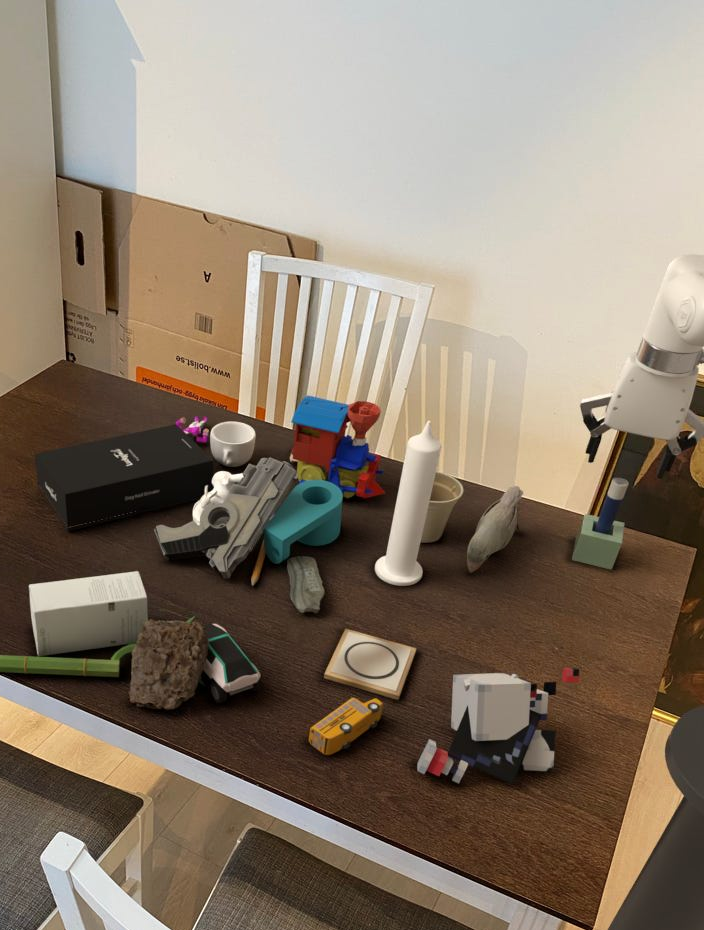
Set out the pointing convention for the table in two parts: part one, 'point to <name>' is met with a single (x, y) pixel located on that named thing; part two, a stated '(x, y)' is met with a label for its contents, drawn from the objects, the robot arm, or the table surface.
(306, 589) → the stone
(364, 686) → the framed picture
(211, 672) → the toy car
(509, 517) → the decorative bird
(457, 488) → the flower pot
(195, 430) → the character figurine
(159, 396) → the table surface
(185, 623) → the concrete sample
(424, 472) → the candle
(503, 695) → the toy
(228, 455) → the teacup
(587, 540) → the pen stand
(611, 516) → the marker
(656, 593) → the table surface
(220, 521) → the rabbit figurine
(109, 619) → the cosmetic box
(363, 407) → the toy train
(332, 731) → the toy bus
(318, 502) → the teal mechanical bracket
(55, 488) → the box
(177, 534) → the toy gun
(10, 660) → the decorative plant
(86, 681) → the table surface
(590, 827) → the table surface
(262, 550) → the pencil
